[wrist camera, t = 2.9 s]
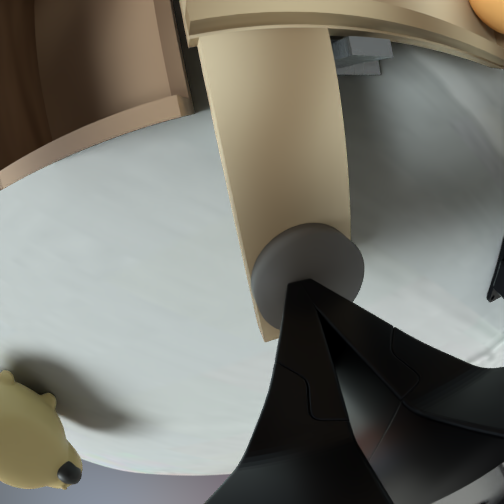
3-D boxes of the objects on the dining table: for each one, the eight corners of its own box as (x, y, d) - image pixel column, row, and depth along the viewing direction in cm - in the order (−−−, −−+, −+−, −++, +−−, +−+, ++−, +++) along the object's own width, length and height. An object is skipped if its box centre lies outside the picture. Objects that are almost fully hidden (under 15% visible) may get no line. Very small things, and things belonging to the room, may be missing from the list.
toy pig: (58, 429, 22) (42, 505, 13) (-22, 362, 16) (-57, 441, 7) (109, 422, 21) (96, 521, 11) (9, 339, 15) (-41, 449, 6)
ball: (486, -11, 5) (530, -16, 2) (501, 42, 6) (549, 46, 3) (444, -32, 5) (491, -46, 2) (462, 27, 6) (516, 23, 3)
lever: (465, -27, 5) (497, -31, 3) (484, 237, 13) (512, 255, 11) (164, -84, 3) (165, -123, 1) (252, 326, 11) (268, 372, 9)
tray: (161, -66, 5) (143, -117, 2) (195, 113, 10) (181, 116, 6) (29, -7, 5) (-22, -25, 1) (52, 163, 10) (-7, 194, 6)
